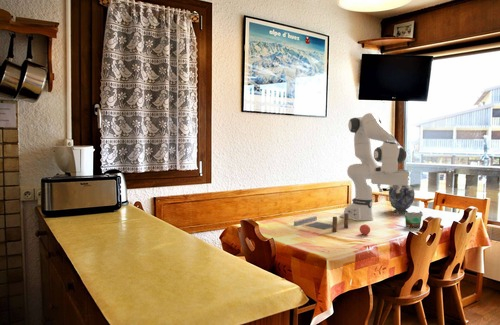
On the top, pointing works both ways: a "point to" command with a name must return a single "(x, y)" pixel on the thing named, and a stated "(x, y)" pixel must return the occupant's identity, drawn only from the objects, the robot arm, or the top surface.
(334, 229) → the post
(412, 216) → the food container
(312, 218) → the stopper wall
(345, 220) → the post
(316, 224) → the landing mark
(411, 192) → the decorative vase
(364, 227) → the ball
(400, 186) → the robot arm
